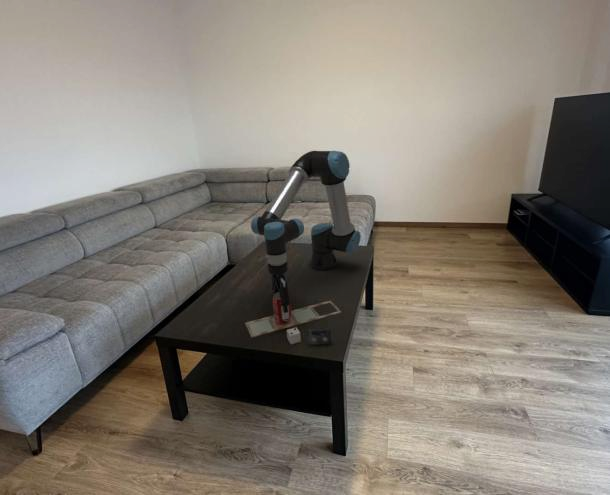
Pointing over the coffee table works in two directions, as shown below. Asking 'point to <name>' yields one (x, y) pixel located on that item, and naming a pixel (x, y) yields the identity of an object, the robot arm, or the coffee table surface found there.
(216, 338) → the coffee table surface
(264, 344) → the coffee table surface
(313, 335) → the mini dv tape
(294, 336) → the die
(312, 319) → the frame
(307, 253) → the coffee table surface
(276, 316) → the soda can
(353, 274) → the coffee table surface
